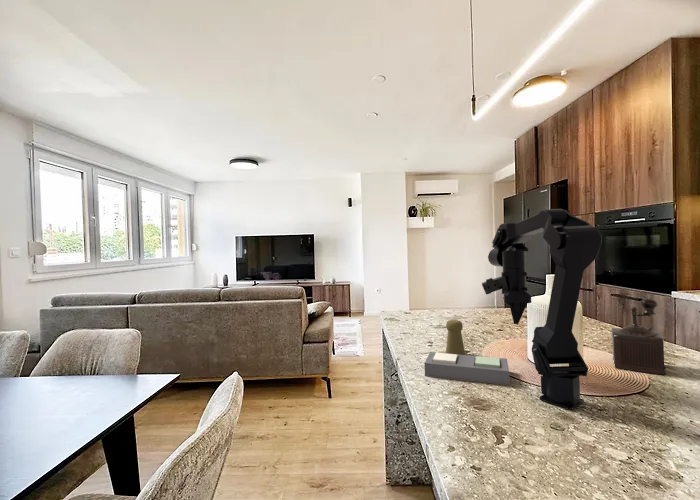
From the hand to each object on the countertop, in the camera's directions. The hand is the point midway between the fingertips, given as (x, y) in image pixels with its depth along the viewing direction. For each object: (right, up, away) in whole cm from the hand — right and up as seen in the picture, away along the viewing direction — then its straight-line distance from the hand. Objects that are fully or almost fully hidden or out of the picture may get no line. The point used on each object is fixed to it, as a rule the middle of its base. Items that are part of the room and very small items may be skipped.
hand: (516, 323), depth 92 cm
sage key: (-9, -12, -3) cm, 16 cm away
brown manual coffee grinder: (+35, -12, +2) cm, 37 cm away
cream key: (-19, -13, +1) cm, 23 cm away
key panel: (-14, -14, -1) cm, 20 cm away
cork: (-12, -14, +16) cm, 24 cm away
